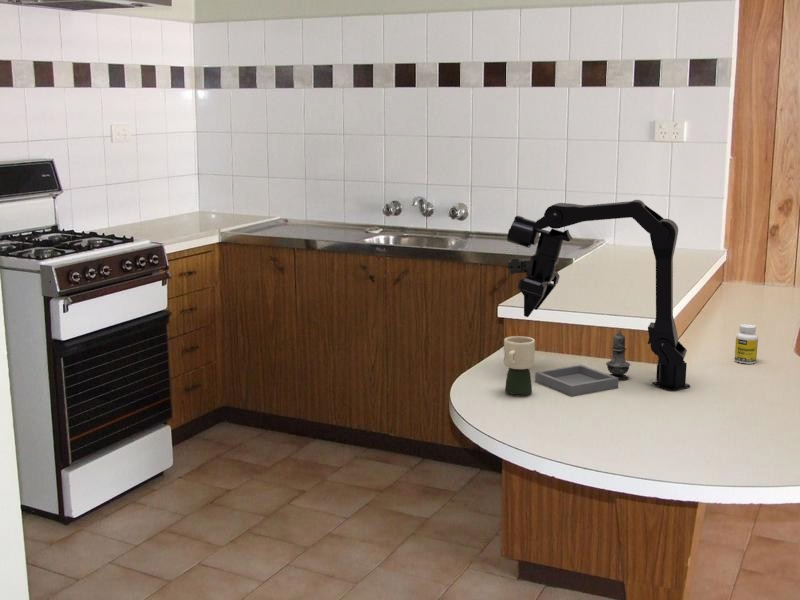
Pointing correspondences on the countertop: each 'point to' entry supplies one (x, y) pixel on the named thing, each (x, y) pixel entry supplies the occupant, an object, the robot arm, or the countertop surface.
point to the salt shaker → (618, 358)
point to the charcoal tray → (576, 380)
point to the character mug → (519, 363)
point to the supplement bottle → (746, 344)
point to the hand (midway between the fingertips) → (530, 312)
